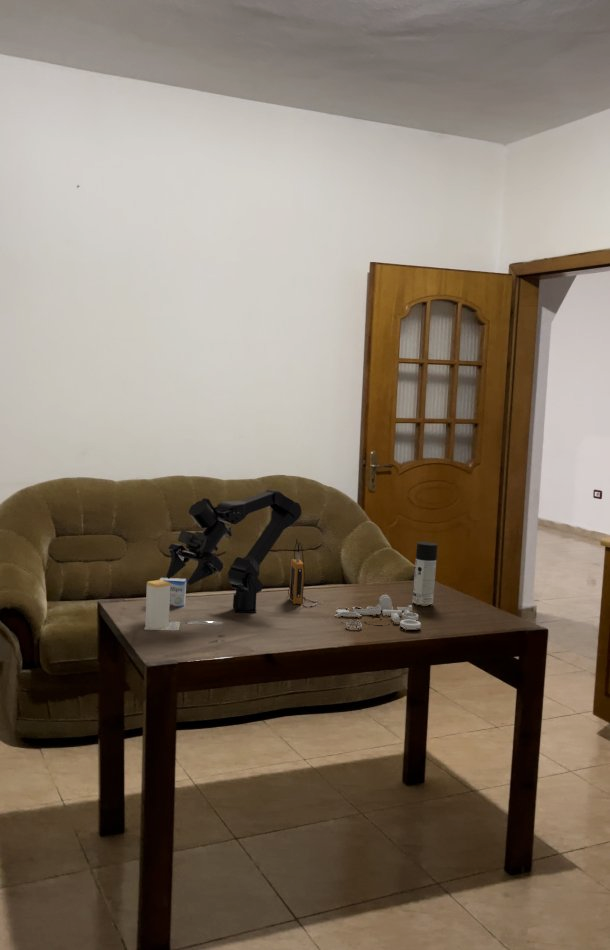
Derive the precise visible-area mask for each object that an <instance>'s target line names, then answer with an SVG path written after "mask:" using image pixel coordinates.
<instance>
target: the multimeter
mask: <svg viewBox="0 0 610 950" xmlns="http://www.w3.org/2000/svg"><path fill="white" fill-rule="evenodd" d="M295 541H296V542H295V544H294V545H295V546H294V551H293V556H294V558H293V559H292V558H291V562H290V563H291V564H290V577H289V580H290V582H289V587H288V591H287V594H288V596H289V601H291V602H292V604H293V605H302V607H304V608H307V606H305V605H304V600H305V601H310V602H312V601H314V602H313V604H311V605H310V606H309V607H310V608H312V607H315V606H316V605H317V604H318V603H320V602H321V604H324V602H323V601H319V600H313V599H307V598H306V597H305V596H304V588H305V587H304V585H305V576H306V575H305V561H304V560H305V559H304V551H303V547H302V543H301V541H299V542H298V538H295ZM296 547H297V553H296ZM300 549H301V556H302V560H301V559H300ZM296 554H297V555H296ZM317 602H318V603H317ZM311 606H312V607H311Z"/></svg>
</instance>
